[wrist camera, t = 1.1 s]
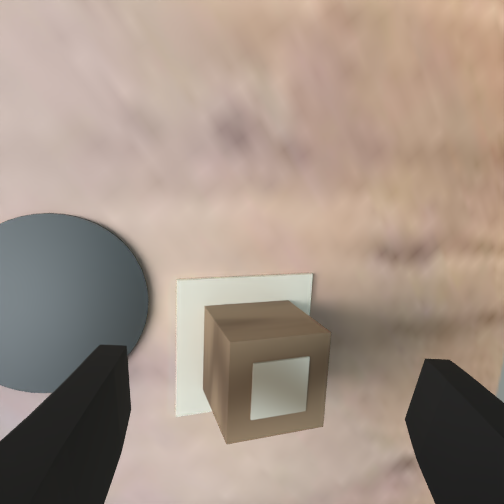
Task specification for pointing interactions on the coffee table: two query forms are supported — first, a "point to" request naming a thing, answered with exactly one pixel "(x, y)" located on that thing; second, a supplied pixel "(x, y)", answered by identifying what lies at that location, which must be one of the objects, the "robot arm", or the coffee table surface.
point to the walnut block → (264, 369)
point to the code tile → (192, 322)
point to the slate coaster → (63, 298)
